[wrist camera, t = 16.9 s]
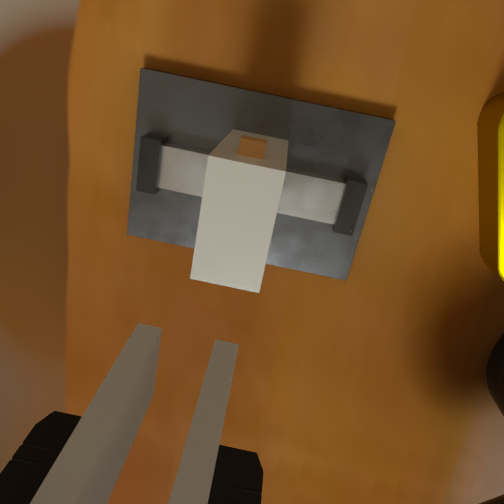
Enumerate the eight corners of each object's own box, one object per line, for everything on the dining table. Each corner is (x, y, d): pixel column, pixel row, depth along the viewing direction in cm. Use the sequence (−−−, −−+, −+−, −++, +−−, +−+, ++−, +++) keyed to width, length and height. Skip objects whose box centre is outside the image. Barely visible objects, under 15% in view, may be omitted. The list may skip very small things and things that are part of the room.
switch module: (235, 116, 35) (210, 137, 25) (291, 127, 35) (289, 154, 25) (217, 221, 38) (190, 278, 28) (268, 232, 38) (259, 292, 28)
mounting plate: (393, 119, 35) (400, 124, 32) (344, 275, 40) (348, 289, 38) (144, 67, 35) (132, 68, 32) (131, 230, 40) (120, 241, 38)
